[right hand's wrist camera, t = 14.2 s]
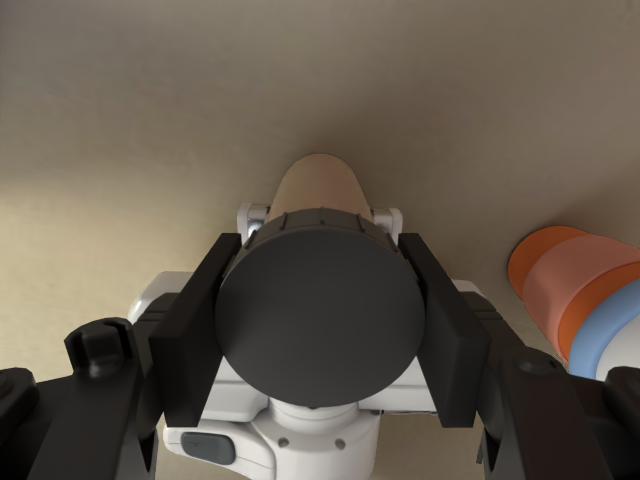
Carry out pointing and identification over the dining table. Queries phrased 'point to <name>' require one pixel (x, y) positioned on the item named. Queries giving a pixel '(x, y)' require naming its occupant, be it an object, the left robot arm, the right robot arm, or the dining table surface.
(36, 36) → the dining table surface
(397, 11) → the dining table surface
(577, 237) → the cup with straw
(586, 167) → the dining table surface
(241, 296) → the lid
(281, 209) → the jar
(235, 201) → the dining table surface
